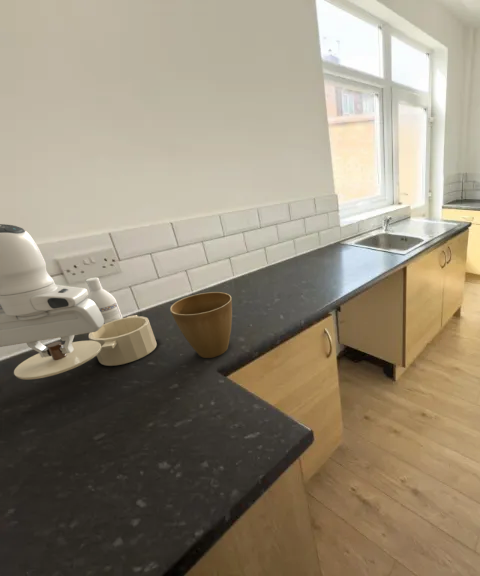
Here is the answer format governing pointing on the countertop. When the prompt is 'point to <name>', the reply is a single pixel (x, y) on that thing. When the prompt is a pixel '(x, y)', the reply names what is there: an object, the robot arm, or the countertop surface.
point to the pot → (124, 340)
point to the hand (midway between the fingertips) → (58, 353)
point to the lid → (57, 360)
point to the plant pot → (205, 322)
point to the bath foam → (103, 301)
